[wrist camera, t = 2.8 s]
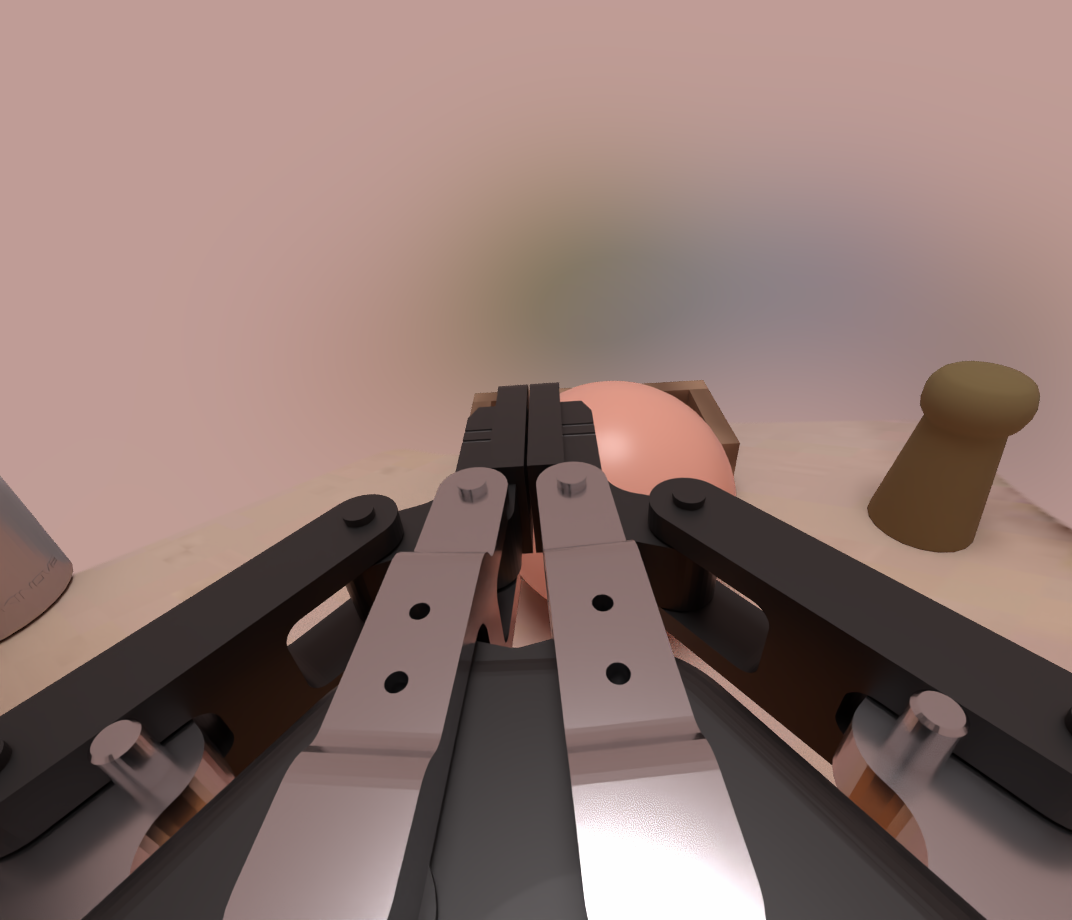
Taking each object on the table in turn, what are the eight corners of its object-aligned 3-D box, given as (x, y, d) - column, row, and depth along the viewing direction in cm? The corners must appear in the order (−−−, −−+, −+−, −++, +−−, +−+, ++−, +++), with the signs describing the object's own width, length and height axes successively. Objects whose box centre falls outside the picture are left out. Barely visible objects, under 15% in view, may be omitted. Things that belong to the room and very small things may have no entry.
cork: (847, 508, 36) (900, 363, 30) (906, 482, 38) (968, 341, 32) (933, 565, 32) (1017, 408, 25) (996, 532, 33) (1089, 378, 27)
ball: (500, 677, 27) (464, 484, 20) (510, 515, 38) (490, 349, 31) (748, 669, 27) (807, 466, 19) (689, 506, 37) (712, 335, 30)
